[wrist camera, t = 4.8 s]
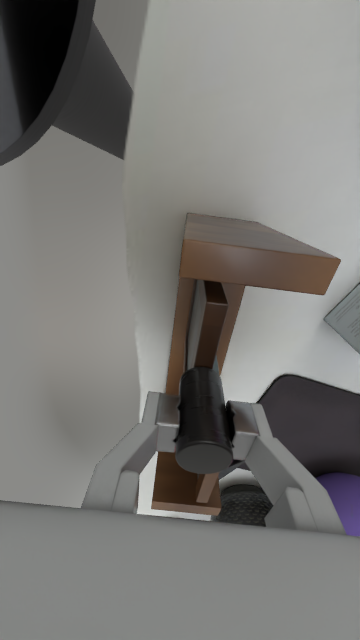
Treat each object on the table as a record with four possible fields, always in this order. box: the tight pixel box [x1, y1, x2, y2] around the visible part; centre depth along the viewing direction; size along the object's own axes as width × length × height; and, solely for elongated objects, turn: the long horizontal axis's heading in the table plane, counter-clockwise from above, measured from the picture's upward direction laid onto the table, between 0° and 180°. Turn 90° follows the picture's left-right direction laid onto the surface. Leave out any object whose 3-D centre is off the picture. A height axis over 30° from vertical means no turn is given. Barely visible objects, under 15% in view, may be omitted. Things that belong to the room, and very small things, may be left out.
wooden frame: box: [151, 213, 341, 516], centre depth 19 cm, size 6×23×12 cm, turn 173°
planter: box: [210, 485, 273, 527], centre depth 36 cm, size 14×14×13 cm
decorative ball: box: [315, 472, 360, 536], centre depth 31 cm, size 15×15×15 cm
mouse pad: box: [230, 375, 360, 478], centre depth 33 cm, size 25×21×1 cm
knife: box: [218, 460, 245, 480], centre depth 38 cm, size 17×2×5 cm
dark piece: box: [175, 279, 234, 474], centre depth 14 cm, size 2×9×14 cm, turn 173°
